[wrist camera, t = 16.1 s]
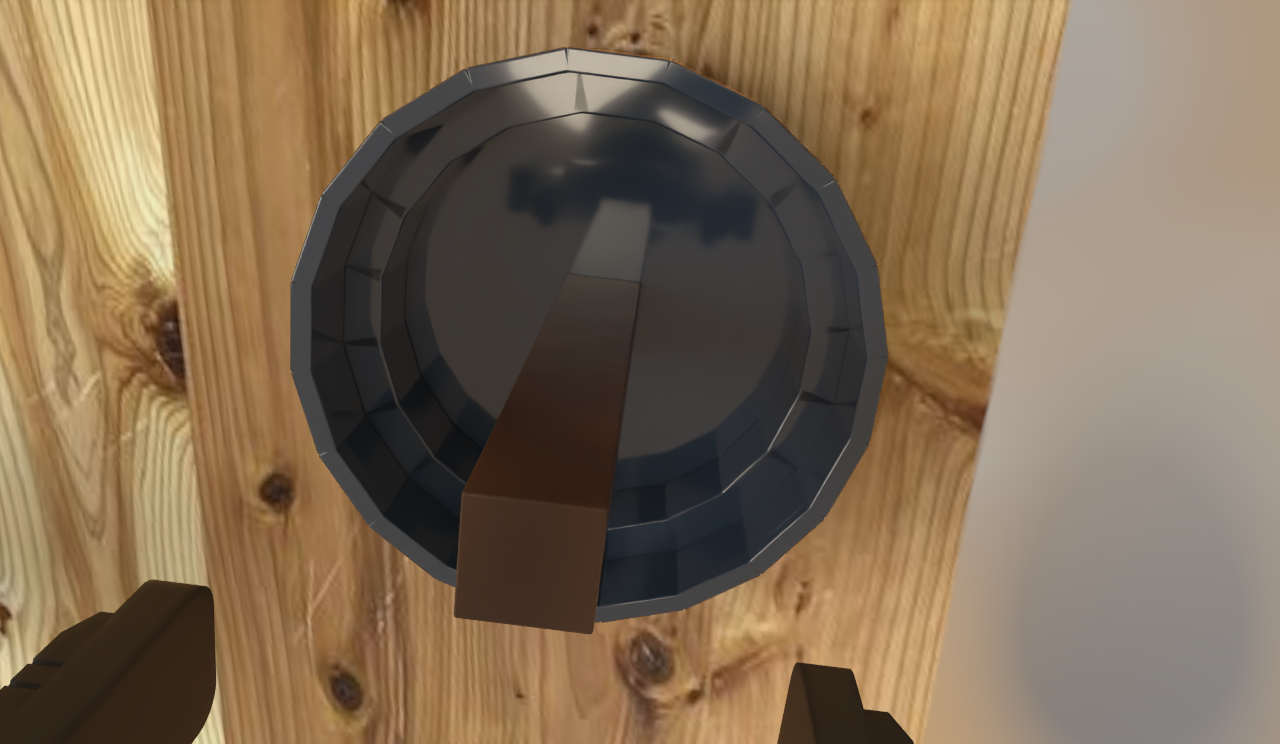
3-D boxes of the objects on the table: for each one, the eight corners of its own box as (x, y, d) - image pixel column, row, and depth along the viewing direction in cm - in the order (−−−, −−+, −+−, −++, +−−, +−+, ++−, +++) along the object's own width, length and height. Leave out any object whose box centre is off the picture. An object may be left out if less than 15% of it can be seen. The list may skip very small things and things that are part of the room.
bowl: (892, 86, 29) (946, 94, 23) (800, 551, 34) (825, 652, 28) (365, 18, 29) (289, 11, 23) (353, 496, 34) (289, 585, 28)
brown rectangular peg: (640, 282, 31) (607, 510, 15) (632, 353, 31) (592, 636, 16) (567, 273, 31) (461, 492, 15) (560, 343, 31) (452, 618, 16)
